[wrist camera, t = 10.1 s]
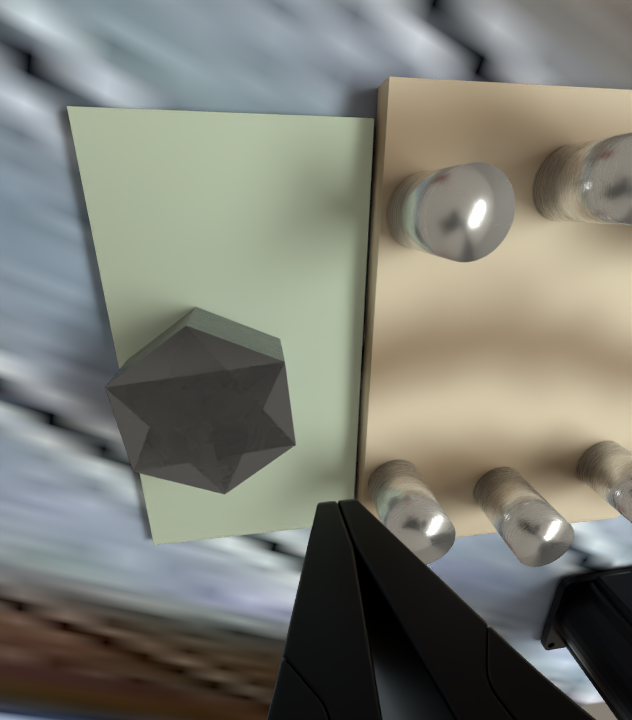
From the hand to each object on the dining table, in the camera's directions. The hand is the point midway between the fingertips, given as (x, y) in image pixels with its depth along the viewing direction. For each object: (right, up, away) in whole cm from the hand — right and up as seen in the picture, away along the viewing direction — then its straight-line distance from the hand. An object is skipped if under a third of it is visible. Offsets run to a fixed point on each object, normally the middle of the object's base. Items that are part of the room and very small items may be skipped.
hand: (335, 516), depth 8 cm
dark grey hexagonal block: (-5, +2, +8) cm, 9 cm away
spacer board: (+9, +4, +10) cm, 14 cm away
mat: (-3, +3, +8) cm, 9 cm away
